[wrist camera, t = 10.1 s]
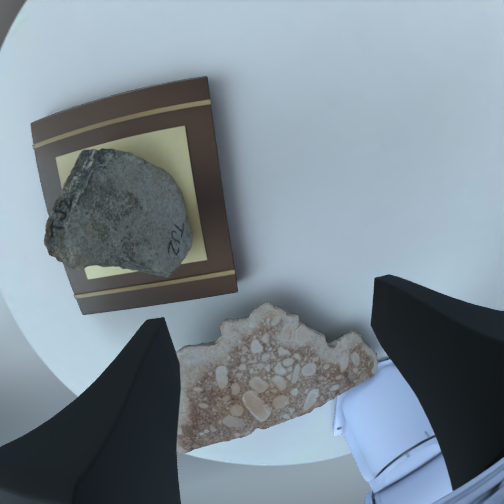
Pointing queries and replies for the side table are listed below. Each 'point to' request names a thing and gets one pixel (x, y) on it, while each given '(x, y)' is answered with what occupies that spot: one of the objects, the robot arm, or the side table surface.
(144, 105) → the plaque
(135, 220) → the rock
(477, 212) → the side table surface
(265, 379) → the rock
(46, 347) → the side table surface
